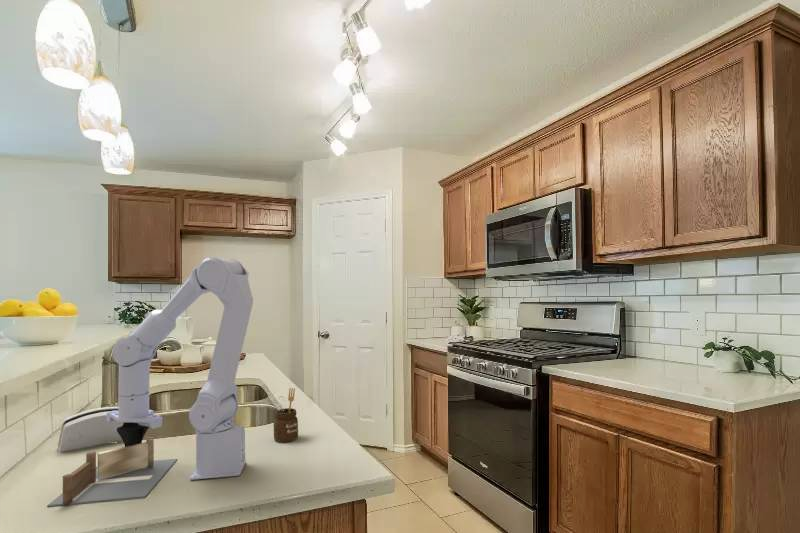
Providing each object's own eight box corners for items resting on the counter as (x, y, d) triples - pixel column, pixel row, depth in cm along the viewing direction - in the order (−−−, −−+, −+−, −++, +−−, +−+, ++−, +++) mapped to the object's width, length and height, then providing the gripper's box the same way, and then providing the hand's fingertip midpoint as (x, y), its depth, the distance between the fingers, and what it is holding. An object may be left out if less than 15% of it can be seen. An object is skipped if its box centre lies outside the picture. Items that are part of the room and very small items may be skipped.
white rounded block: (133, 432, 125) (136, 399, 123) (137, 442, 122) (139, 408, 119) (56, 447, 114) (58, 411, 112) (58, 458, 111) (59, 421, 109)
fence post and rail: (97, 482, 92) (97, 451, 93) (70, 505, 82) (70, 470, 83) (88, 482, 92) (88, 452, 92) (60, 506, 82) (60, 471, 82)
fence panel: (98, 480, 92) (98, 452, 92) (97, 478, 93) (97, 450, 93) (154, 465, 99) (154, 439, 99) (152, 464, 100) (152, 438, 100)
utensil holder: (268, 442, 114) (268, 392, 115) (283, 434, 120) (282, 387, 121) (289, 444, 112) (289, 393, 113) (303, 436, 118) (302, 388, 119)
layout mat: (177, 460, 103) (177, 458, 103) (145, 497, 85) (145, 495, 85) (98, 466, 101) (98, 464, 101) (47, 506, 82) (47, 504, 82)
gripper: (174, 392, 99) (174, 456, 99) (128, 387, 105) (127, 448, 105) (145, 399, 93) (144, 468, 92) (97, 393, 99) (96, 458, 98)
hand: (133, 458), depth 98 cm, fingers closed, pressing on fence panel
